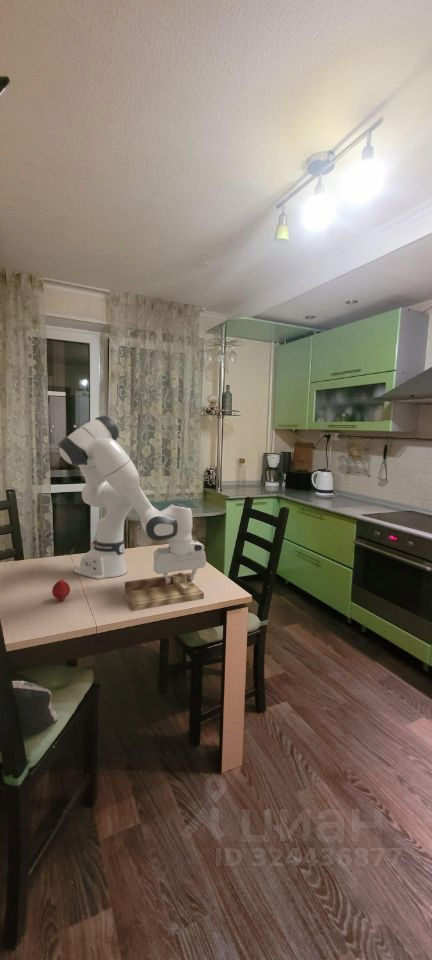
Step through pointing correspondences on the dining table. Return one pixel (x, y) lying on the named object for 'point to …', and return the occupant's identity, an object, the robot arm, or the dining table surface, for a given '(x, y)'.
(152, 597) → the wooden tray
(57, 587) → the onion
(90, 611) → the dining table surface
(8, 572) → the dining table surface
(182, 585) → the gauge
